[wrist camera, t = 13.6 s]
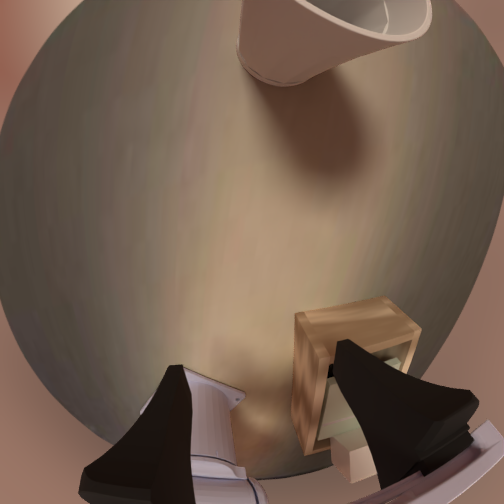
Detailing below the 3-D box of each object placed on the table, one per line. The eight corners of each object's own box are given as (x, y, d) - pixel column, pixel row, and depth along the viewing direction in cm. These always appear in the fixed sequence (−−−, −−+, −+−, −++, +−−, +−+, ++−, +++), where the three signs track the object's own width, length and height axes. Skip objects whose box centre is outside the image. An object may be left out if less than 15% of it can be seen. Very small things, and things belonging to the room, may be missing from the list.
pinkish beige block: (364, 451, 22) (388, 468, 17) (331, 462, 22) (350, 483, 16) (363, 422, 23) (388, 437, 18) (329, 433, 23) (349, 451, 18)
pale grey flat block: (363, 398, 26) (377, 421, 22) (307, 414, 25) (318, 441, 22) (380, 338, 23) (401, 363, 19) (314, 355, 22) (330, 385, 18)
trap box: (358, 395, 29) (380, 431, 23) (289, 413, 28) (304, 455, 22) (382, 293, 24) (421, 329, 18) (293, 310, 23) (319, 358, 17)
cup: (318, 14, 15) (399, -61, 4) (335, 97, 18) (451, 61, 7) (218, 13, 14) (235, -95, 3) (230, 102, 17) (264, 27, 6)
